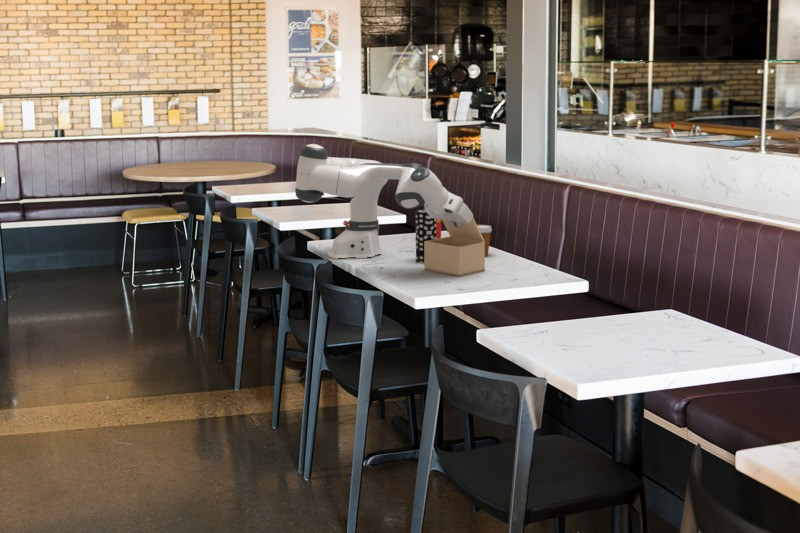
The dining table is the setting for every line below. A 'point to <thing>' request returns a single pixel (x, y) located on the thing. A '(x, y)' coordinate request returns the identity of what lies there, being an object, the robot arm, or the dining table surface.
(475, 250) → the carton
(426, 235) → the white-spotted black cylinder
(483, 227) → the disposable coffee cup
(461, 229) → the carton flap
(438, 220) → the french fries
